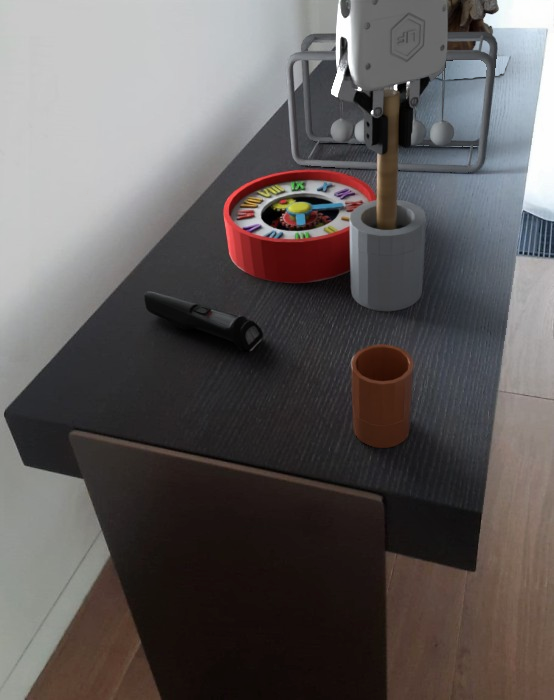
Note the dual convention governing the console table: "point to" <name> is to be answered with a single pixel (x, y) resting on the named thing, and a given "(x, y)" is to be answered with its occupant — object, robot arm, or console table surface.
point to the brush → (389, 165)
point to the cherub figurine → (468, 20)
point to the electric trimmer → (205, 320)
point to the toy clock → (294, 224)
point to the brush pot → (382, 395)
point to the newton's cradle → (344, 129)
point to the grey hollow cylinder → (387, 257)
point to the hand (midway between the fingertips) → (388, 145)
